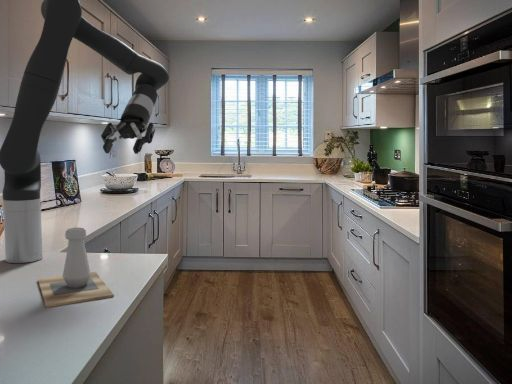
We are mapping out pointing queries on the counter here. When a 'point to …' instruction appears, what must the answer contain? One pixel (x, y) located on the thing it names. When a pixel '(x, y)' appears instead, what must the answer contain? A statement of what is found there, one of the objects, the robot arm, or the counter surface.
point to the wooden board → (72, 290)
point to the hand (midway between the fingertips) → (120, 151)
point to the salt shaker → (76, 259)
